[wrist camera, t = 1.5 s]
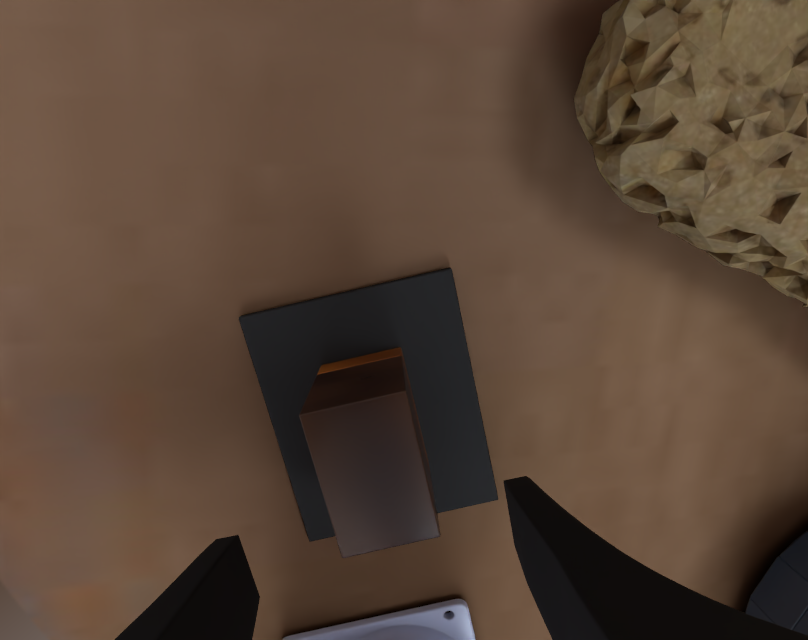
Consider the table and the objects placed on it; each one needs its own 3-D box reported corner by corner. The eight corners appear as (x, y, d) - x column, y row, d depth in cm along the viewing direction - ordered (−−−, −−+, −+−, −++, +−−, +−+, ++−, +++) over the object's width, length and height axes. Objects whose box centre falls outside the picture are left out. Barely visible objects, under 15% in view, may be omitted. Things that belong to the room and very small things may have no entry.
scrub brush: (352, 477, 21) (342, 559, 16) (320, 364, 19) (298, 415, 14) (428, 460, 20) (441, 537, 16) (400, 346, 19) (406, 390, 14)
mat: (310, 536, 22) (309, 542, 21) (241, 315, 19) (237, 317, 19) (496, 494, 21) (498, 499, 21) (450, 267, 19) (451, 268, 19)
